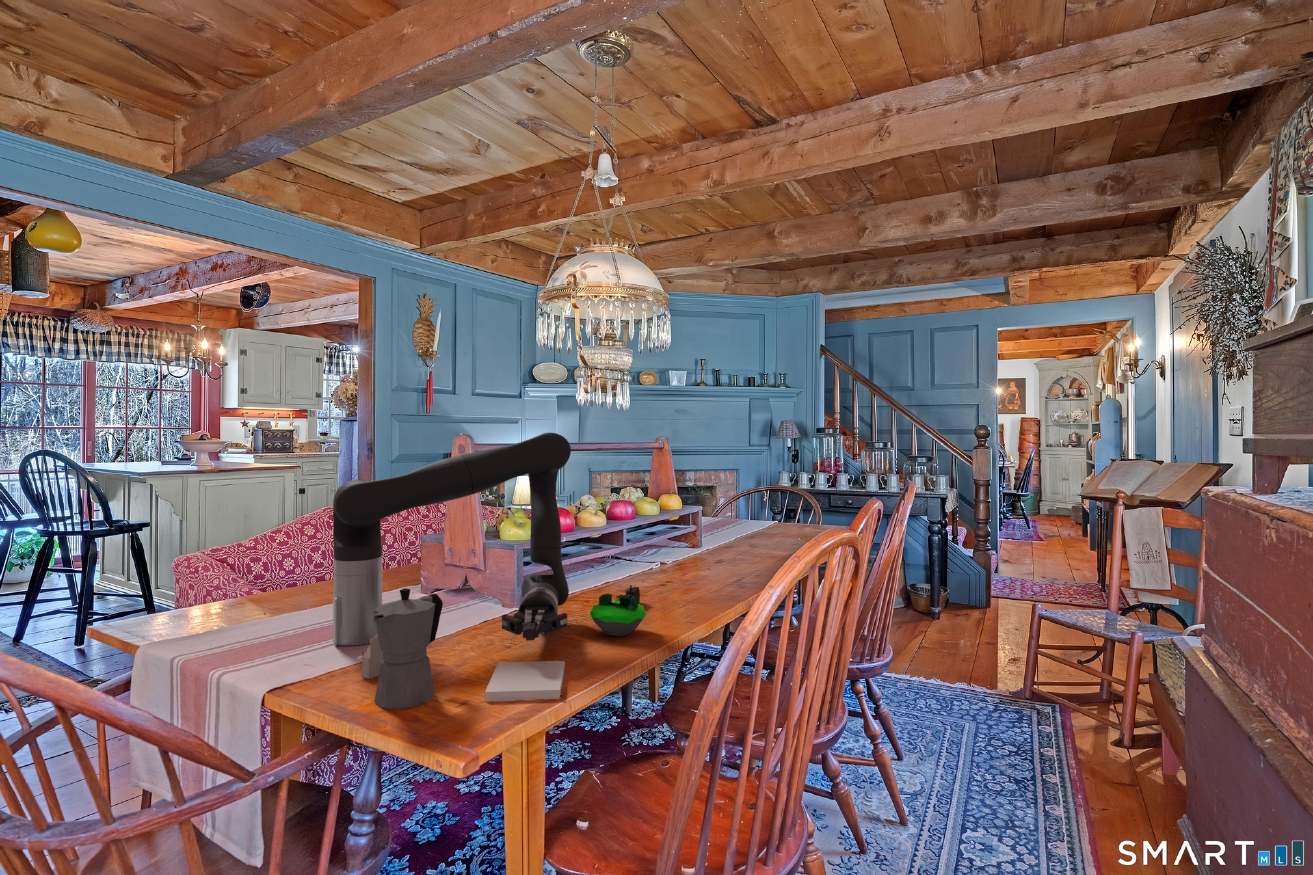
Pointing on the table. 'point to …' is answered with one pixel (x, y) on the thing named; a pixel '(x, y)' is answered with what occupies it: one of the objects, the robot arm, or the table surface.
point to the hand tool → (633, 593)
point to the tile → (526, 681)
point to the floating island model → (618, 614)
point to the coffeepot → (406, 650)
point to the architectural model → (371, 659)
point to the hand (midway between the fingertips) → (530, 634)
